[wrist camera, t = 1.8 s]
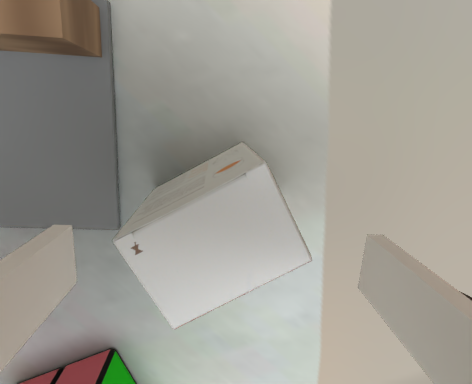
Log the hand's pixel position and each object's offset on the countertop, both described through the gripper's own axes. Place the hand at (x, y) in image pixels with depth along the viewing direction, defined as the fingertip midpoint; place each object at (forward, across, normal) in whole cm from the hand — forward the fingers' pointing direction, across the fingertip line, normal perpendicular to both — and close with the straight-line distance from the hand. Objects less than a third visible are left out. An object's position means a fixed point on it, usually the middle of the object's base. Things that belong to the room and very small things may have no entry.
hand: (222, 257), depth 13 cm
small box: (+11, 0, 0) cm, 11 cm away
